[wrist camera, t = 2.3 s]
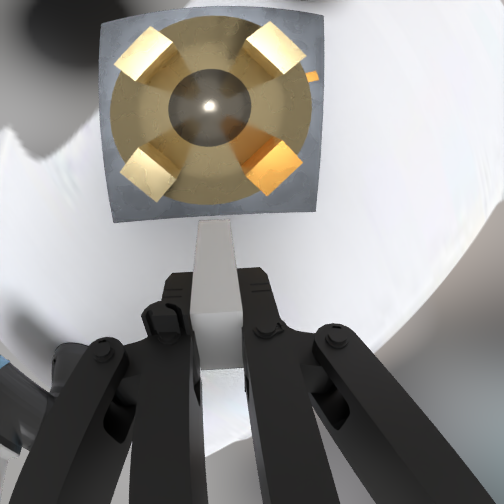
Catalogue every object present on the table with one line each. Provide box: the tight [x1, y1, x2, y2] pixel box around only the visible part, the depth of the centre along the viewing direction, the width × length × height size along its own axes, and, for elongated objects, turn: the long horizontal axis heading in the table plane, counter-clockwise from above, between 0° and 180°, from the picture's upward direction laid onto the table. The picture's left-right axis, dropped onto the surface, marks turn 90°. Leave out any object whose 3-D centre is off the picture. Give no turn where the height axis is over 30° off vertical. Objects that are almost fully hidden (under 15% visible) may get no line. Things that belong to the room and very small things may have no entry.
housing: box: [99, 6, 324, 223], centre depth 24 cm, size 22×22×3 cm
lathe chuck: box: [110, 15, 312, 205], centre depth 20 cm, size 18×18×6 cm
